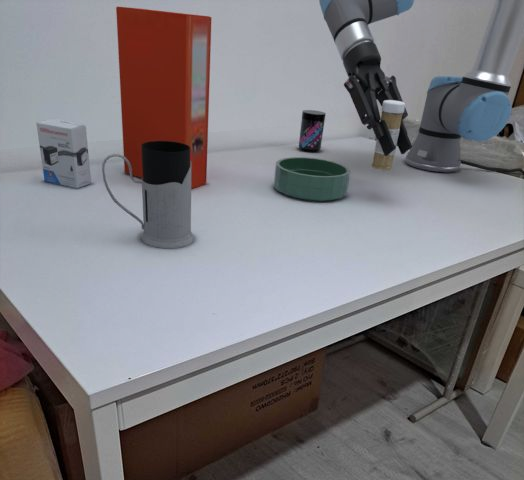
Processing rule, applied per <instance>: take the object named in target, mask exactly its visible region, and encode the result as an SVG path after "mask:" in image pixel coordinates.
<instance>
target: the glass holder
mask: <svg viewBox="0 0 524 480" xmlns="http://www.w3.org/2000/svg"><path fill="white" fill-rule="evenodd" d="M141 148H142V171H143V177H142V178H141V180H138V179H135V178H134V175H132V168H131V165H130V162H129V161H128V159H127V158H126V157H124V154H119V153H112V154H108V155H107V156H106V157H105V158H104V159H103V161H102V163H101V164H102V166H101V173H102V179H103V183H104V186H105V190H106V192H107V193H108V195H109V196H110V198H111V200H112V201H113V203H115V204H116V205H117V206H118V207H119V208H120V209H122V210H123V211H125V213H127V214H128V215H130V216H131V217H132V218H134V219H135V220H136V221H137V222H138V223H139V224H140V225H141V230H143V232H142V234H141V236H140V237H141V238H140V239H141V241H142V242H143V243H144V244H146V245H148V246H150V247H154V248H159V249H178V248H184V247H186V246H189V245H191V244H192V243H193V242H194V236H193V234H192V189H191V161H190V146H188V145H186V144H183V143H179V142H172V141H151V142H146V143H143V144H142V145H141ZM115 157H118V158H120V159H121V160H123V161H124V160H125V161H126V162H127V164H128V166H129V171H130V174H129V176H130V180H131V181H132V182H133V183H136V184H141V196H142V216H143V217H142V218H143V220H142V219H140V218H139V217H138V215H136V214H134V213H133V212H132V211H130V210H129V209H127V208H126V207H125V206H124V205H122V204H121V203H120V202H119V200H117V198H116V197H115V196H114V194H113V192H112V191H111V189H110V187H109V185H108V181H107V179H106V172H105V171H106V170H105V169H106V168H105V167H106V163H107V161H108V160H109V159H111V158H115Z"/></svg>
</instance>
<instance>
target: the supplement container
mask: <svg viewBox="0 0 524 480" xmlns="http://www.w3.org/2000/svg"><path fill="white" fill-rule="evenodd" d="M326 116H327V115H326V112H324V111H320V110H314V109H304V110H302V113H301V121H300V129H299V139H298V140H299V141H298V149H299V150H300V151H301V152H306V153H319V152H320V151H321V150H322V144H323V135H324V129H325V121H326Z"/></svg>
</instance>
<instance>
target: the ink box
mask: <svg viewBox="0 0 524 480" xmlns="http://www.w3.org/2000/svg"><path fill="white" fill-rule="evenodd" d="M35 125H36V131H37V136H38V144H39V151H40V158H41V166H42V173H43V181H44V182H46V183H50V184H55V185H58V186H59V185H60V186H65V187H69V188H72V189H80V188H82V187H85V186H88V185H91V184H92V178H91V177H92V176H91V167H90V156H89V145H88V136H87V126H86V125H85V124H84V123H79V122H74V121H70V120H63V119H58V118H50V119H46V120H42V121H37V122H36V124H35Z"/></svg>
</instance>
